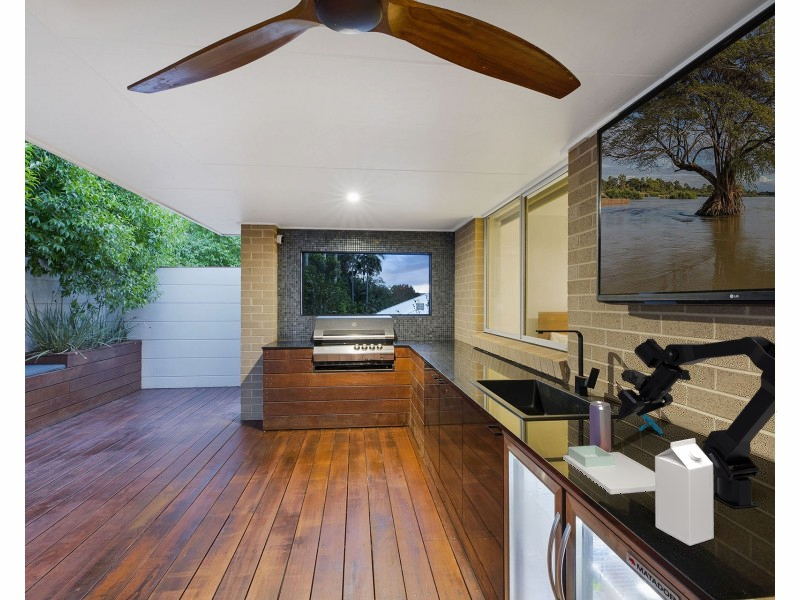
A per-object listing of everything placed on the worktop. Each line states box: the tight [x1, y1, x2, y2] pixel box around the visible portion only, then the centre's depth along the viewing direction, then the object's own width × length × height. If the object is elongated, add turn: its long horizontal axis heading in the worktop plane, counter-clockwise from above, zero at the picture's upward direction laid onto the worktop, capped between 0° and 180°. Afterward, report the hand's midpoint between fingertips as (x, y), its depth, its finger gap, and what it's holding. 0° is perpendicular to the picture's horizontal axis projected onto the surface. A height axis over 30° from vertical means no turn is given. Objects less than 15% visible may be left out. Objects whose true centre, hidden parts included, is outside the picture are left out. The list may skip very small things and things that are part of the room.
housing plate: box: [562, 445, 655, 495], centre depth 113 cm, size 22×18×4 cm
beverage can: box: [589, 400, 612, 453], centre depth 129 cm, size 6×6×15 cm
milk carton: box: [654, 437, 715, 547], centre depth 84 cm, size 7×7×19 cm
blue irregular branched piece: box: [638, 413, 664, 435], centre depth 147 cm, size 11×6×10 cm
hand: (628, 416), depth 122 cm, fingers open, 9 cm apart
